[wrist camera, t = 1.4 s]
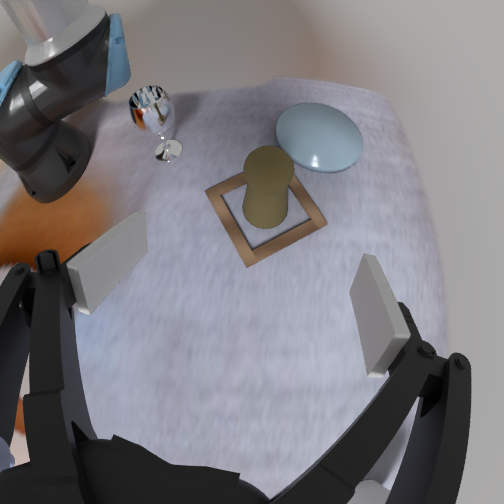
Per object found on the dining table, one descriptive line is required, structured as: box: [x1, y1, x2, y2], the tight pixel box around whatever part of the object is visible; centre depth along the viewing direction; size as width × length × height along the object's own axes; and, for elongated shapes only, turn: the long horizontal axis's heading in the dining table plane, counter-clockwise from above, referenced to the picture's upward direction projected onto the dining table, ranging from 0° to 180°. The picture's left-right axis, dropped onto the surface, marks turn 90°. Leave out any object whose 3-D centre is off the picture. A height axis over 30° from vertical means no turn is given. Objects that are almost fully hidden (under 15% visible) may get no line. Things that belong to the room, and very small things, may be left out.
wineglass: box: [129, 85, 182, 162], centre depth 33 cm, size 6×6×12 cm
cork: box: [242, 146, 294, 229], centre depth 31 cm, size 6×6×11 cm
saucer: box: [276, 103, 363, 173], centre depth 39 cm, size 14×14×1 cm
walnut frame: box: [205, 173, 327, 267], centre depth 36 cm, size 12×12×1 cm
